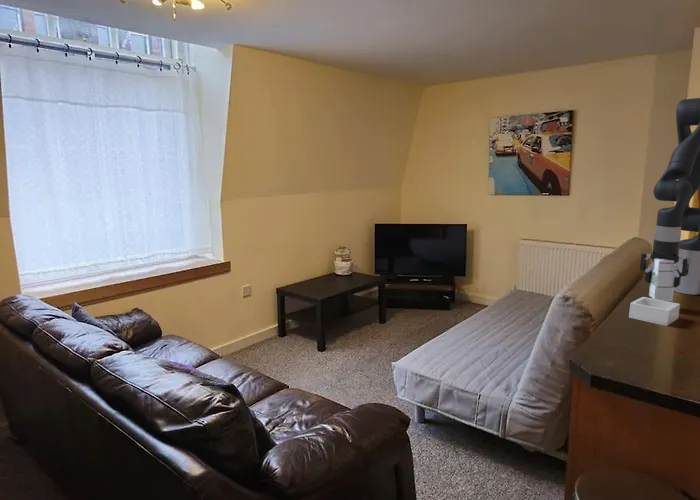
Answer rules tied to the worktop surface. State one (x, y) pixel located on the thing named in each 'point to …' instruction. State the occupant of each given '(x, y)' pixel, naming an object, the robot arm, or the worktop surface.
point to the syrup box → (662, 280)
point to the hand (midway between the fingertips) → (661, 284)
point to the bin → (654, 311)
